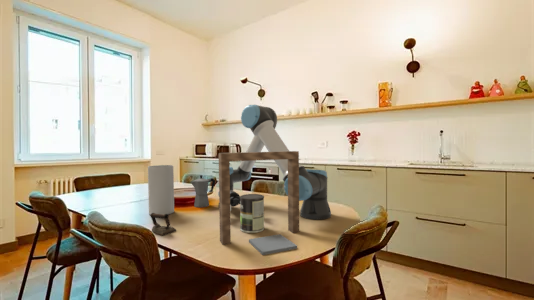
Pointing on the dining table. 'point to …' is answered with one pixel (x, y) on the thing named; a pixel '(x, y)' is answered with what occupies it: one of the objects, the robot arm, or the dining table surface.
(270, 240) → the slate mat
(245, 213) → the coffee can
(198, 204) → the coffeepot
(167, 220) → the clothes iron
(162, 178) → the cylinder vase
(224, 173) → the walnut archway
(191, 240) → the dining table surface
